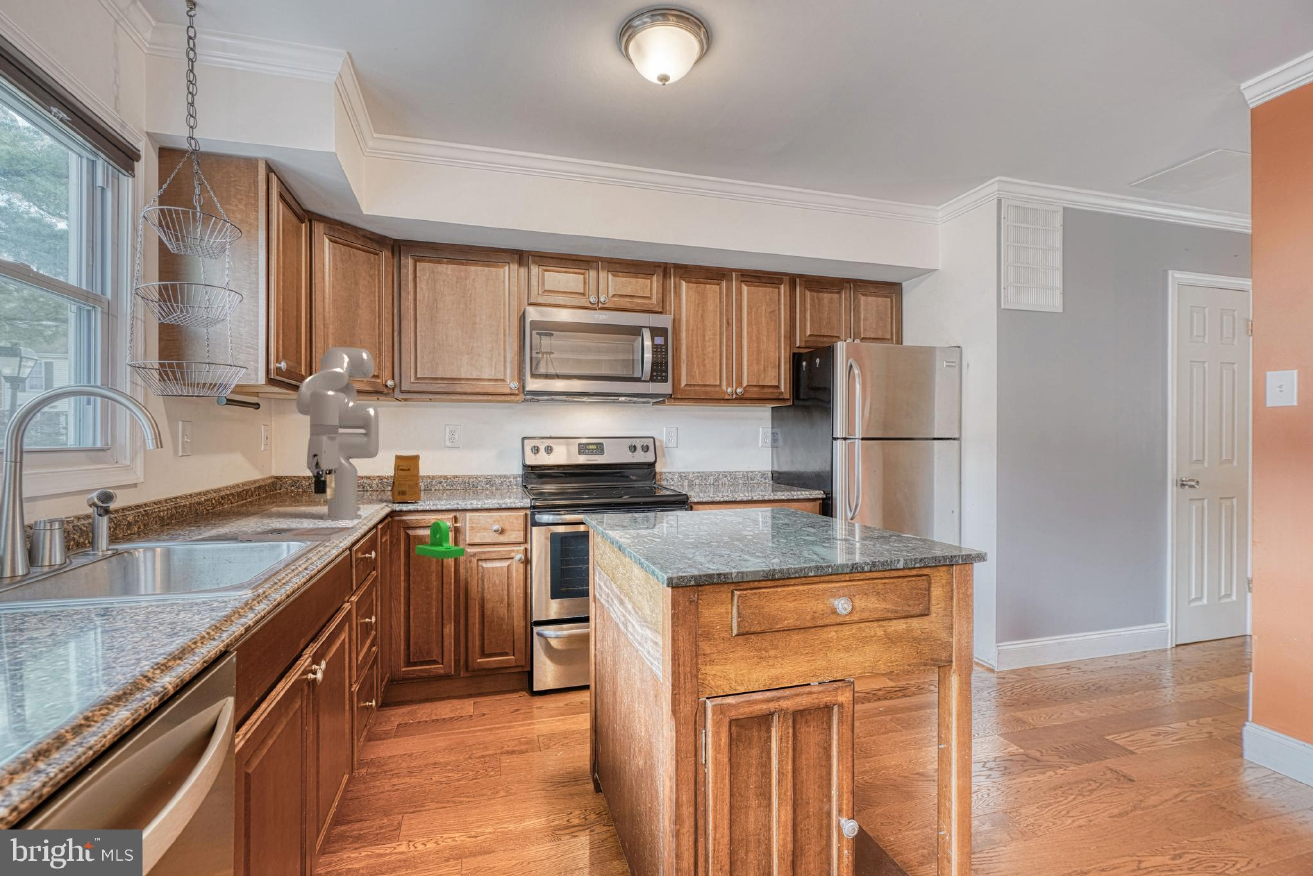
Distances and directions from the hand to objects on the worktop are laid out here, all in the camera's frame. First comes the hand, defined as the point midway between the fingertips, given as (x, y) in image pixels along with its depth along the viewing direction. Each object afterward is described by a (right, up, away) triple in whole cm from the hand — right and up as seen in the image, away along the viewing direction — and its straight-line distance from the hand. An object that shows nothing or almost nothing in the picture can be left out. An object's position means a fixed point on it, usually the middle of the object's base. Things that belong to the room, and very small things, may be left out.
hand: (324, 492), depth 178 cm
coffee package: (-16, -14, +97) cm, 99 cm away
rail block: (-7, -13, 0) cm, 15 cm away
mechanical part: (+44, -13, -27) cm, 54 cm away
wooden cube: (0, -2, 0) cm, 2 cm away
